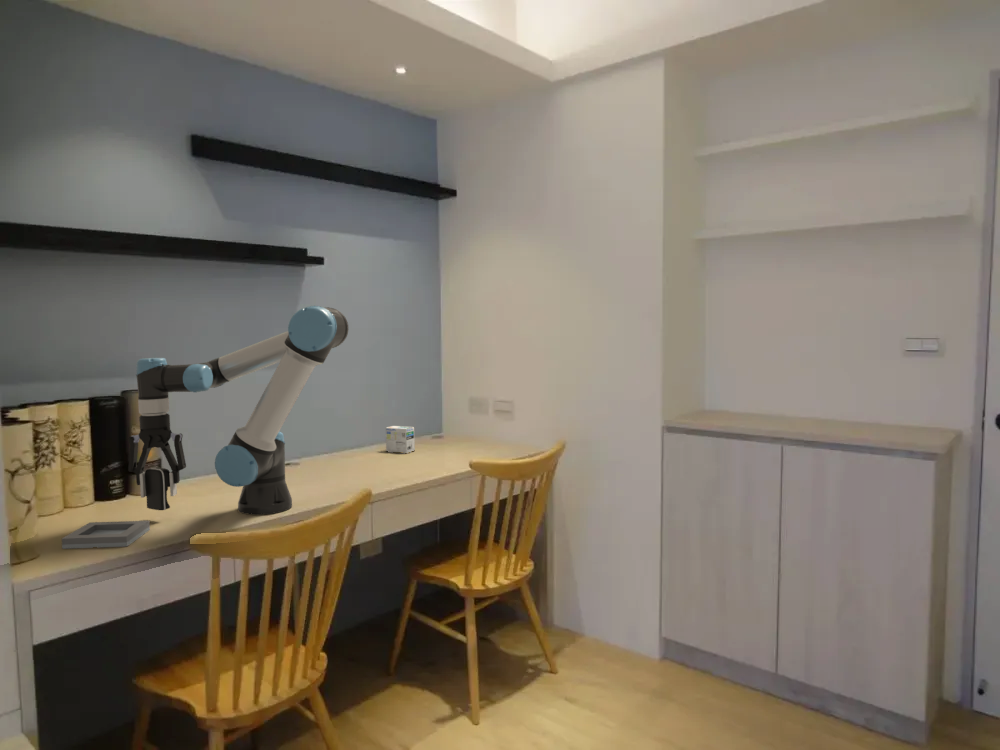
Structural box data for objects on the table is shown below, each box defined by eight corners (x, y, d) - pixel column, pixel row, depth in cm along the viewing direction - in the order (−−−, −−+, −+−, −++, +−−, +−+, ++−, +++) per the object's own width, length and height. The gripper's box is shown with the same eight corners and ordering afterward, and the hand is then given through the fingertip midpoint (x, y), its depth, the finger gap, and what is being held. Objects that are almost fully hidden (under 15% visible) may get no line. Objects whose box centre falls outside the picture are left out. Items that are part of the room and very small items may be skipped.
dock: (149, 529, 184) (149, 520, 184) (126, 546, 170) (126, 536, 170) (90, 531, 182) (89, 522, 182) (62, 548, 169) (61, 538, 168)
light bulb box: (415, 451, 298) (415, 426, 298) (407, 454, 292) (406, 428, 291) (394, 449, 303) (393, 425, 302) (385, 452, 297) (385, 427, 296)
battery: (174, 508, 194) (172, 467, 193) (162, 511, 190) (160, 470, 189) (158, 505, 197) (155, 465, 196) (145, 509, 193) (143, 468, 193)
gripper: (196, 411, 196) (200, 490, 198) (122, 413, 194) (127, 494, 196) (187, 414, 189) (192, 497, 191) (109, 416, 187) (115, 500, 189)
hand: (159, 495), depth 193 cm, fingers closed on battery, 7 cm apart
